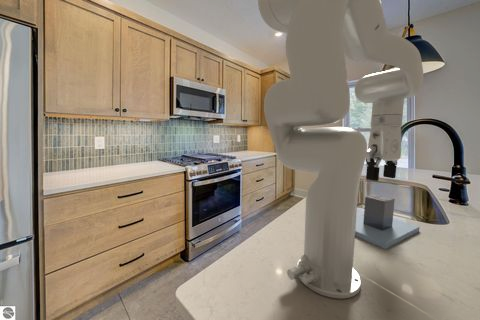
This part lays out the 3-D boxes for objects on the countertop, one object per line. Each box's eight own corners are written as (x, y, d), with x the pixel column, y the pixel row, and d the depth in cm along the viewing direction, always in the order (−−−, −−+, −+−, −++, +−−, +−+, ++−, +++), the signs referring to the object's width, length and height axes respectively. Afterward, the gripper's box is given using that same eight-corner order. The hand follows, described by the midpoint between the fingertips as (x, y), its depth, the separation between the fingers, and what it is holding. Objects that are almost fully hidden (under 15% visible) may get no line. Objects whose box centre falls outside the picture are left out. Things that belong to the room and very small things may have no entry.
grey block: (382, 230, 59) (385, 201, 58) (363, 223, 64) (365, 196, 63) (392, 226, 62) (394, 198, 61) (373, 220, 67) (375, 194, 66)
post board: (385, 249, 52) (387, 225, 52) (337, 227, 65) (338, 208, 64) (419, 231, 62) (421, 211, 61) (371, 215, 74) (372, 198, 73)
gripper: (384, 119, 52) (379, 184, 54) (414, 122, 60) (409, 178, 62) (356, 121, 58) (351, 179, 60) (386, 124, 67) (382, 174, 68)
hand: (380, 178), depth 61 cm, fingers open, 9 cm apart
